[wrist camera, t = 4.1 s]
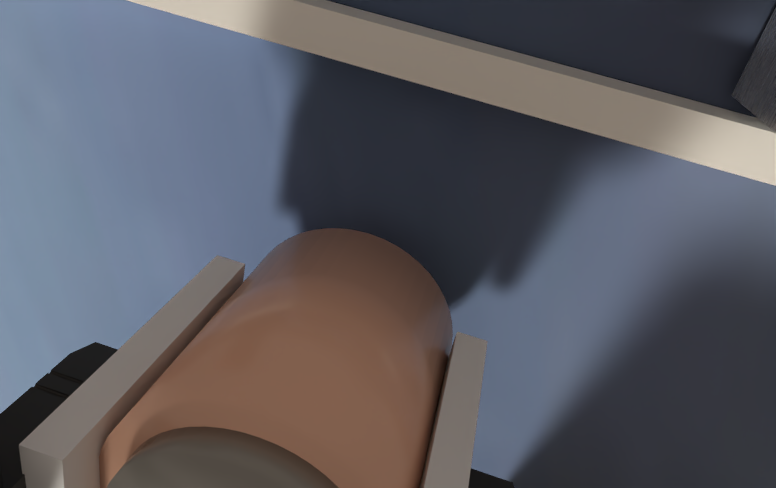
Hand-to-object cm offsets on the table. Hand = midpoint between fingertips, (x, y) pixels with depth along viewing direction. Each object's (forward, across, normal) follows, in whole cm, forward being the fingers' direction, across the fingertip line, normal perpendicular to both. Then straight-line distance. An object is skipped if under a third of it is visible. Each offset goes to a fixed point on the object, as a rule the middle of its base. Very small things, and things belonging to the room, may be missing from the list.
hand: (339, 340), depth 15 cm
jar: (+1, 0, 0) cm, 1 cm away
